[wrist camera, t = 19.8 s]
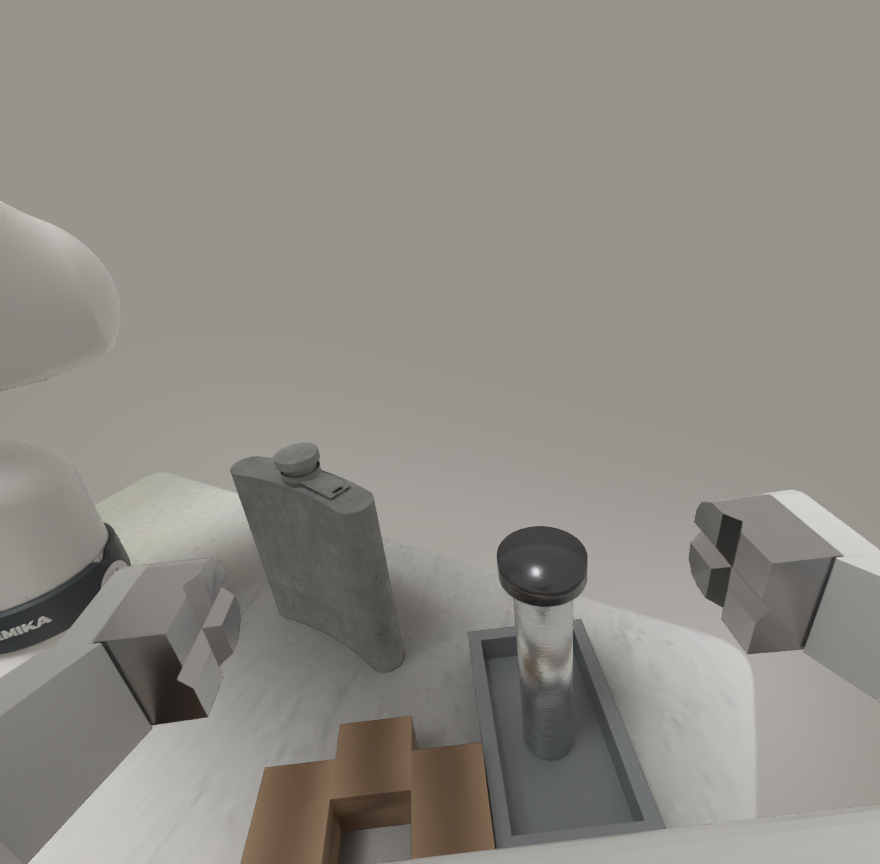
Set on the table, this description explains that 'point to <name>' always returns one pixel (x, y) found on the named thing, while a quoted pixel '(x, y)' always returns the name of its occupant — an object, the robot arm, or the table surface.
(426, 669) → the table surface
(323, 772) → the block
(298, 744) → the table surface
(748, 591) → the robot arm
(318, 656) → the table surface
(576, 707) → the tray
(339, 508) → the hip flask
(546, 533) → the steel pin
